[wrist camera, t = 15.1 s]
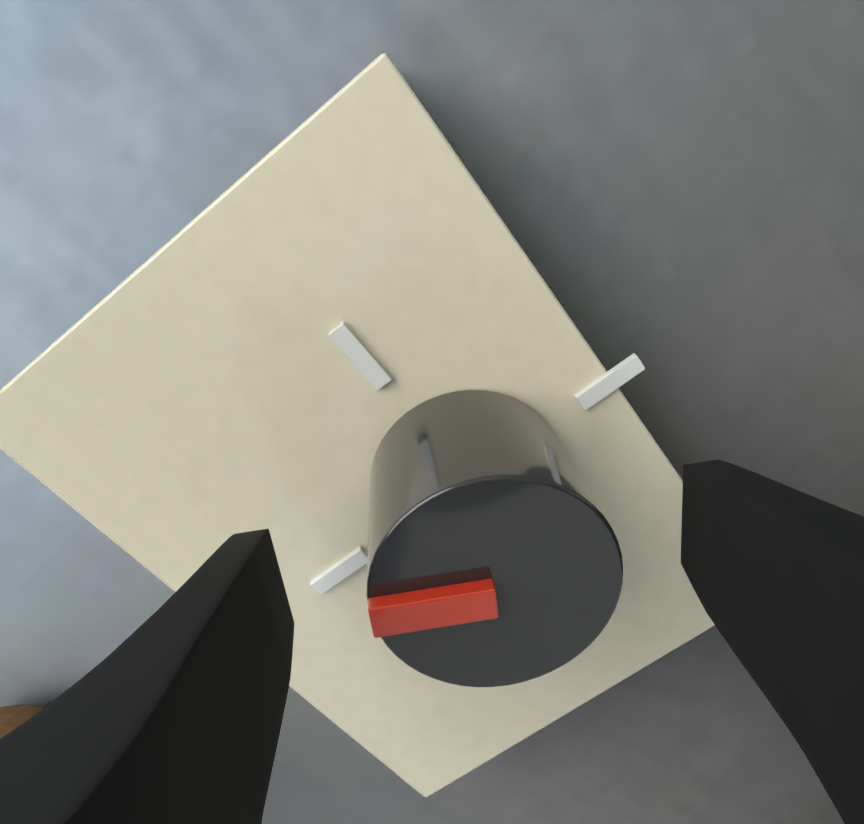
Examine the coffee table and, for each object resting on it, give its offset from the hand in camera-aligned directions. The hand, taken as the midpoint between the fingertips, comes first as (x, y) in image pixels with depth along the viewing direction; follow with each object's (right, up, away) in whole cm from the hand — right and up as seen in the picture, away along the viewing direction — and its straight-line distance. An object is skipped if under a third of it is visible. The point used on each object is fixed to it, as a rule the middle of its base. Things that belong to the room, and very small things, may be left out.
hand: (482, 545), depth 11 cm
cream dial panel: (-1, +1, +5) cm, 5 cm away
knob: (0, +1, +2) cm, 2 cm away
